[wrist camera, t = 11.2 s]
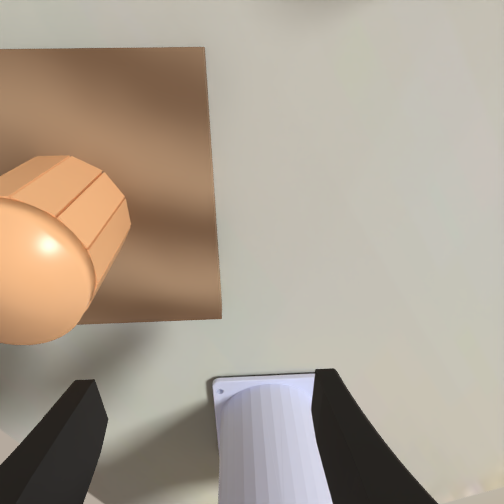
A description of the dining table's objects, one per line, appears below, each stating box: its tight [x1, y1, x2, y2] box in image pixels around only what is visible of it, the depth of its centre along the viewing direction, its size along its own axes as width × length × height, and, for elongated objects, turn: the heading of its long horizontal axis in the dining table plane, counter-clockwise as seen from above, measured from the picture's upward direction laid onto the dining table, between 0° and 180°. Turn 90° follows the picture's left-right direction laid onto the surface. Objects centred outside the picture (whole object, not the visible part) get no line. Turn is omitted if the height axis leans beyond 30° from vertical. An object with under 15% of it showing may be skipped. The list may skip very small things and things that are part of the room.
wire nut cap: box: [0, 155, 131, 345], centre depth 15 cm, size 6×6×6 cm
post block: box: [0, 47, 222, 325], centre depth 16 cm, size 14×14×5 cm
